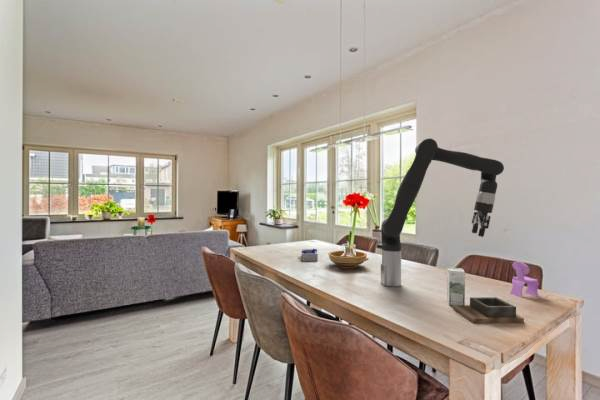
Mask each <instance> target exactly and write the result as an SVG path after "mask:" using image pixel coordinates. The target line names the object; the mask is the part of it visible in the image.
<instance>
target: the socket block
mask: <svg viewBox="0 0 600 400" xmlns="http://www.w3.org/2000/svg"><path fill="white" fill-rule="evenodd" d="M452 307H453V308H452V309H453V311H455V312H456V313H458V314H460V315H461V316H462V317H463V318H465V319H466V320H468V321H470V322H471V323H472V324H511V323H512V324H517V323H520V324H523V323H525V318H524V317H522V316H520V315H519V314H517V306H515V305H513V304H511V303H509V302H507V301H505V300H503V299H501V298H498V297H495V296H491V297H489V296H488V297H484V296H483V297H482V296H481V297H469V305H453V306H452Z"/></svg>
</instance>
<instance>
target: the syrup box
mask: <svg viewBox="0 0 600 400" xmlns="http://www.w3.org/2000/svg"><path fill="white" fill-rule="evenodd" d="M446 272H447V279H446V280H447V285H446V286H447V291H446V292H447V294H446V295H447V296H446V297H447V299H446V301H447V303H448V306H452V307H453V305H465V304H466V303H465V300H466V297H465V296H466V295H465V294H466V292H465V291H466V272H465V270H464V269H463V267H462V268H461V267H447V271H446Z"/></svg>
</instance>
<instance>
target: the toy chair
mask: <svg viewBox="0 0 600 400" xmlns="http://www.w3.org/2000/svg"><path fill="white" fill-rule="evenodd" d="M512 268H513V269H514V271H516V276H512V280H511V282H512V283H511V284H512V287H511V290H510V292H509V294H511V295H514V296H515V297H519V298H523V288H524V286H526V285H527V287H526V290H525V291H524V293H525V294H528V295H532V296H535V297H539V293H538V287H539V280H538V279H536V278H532V277H529V276H526V275H528V274H529V273H530V270H531V269H530V267H529V266H528V265H527V264H526V263H525V262H521V261H517V260H516V261H514V262H513V263H512ZM525 284H526V285H525Z"/></svg>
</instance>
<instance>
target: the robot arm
mask: <svg viewBox="0 0 600 400" xmlns="http://www.w3.org/2000/svg"><path fill="white" fill-rule="evenodd" d="M414 152H415V157H414V159H413V162H412V164H411V165H410V167H409V168H408V169H407V171H406V173H405V174H404V177H403V178H402V180H401V183H400V184H399V186H398V189H397V192H396V195H395V199H394V205H393V208H392V210H391V212H390V214H389V216H388V218H385V219H384V220H383V221H382V223H381V227H380V228H381V229H380V230H381V232H380V234H381V253H382V254H381V263H380V283H381V285H383V286H384V287H400V286H402V243H401V233H402V231H403V229H404V227H405V222H406V220H407V219H406V218H407V216H408V215H409V214H408V213H409V211H410V209H412V206H413V204H414V203H415V200H416V198H417V197H418V194H419V192H420V189H421V187H422V185H423V181H424V179H425V176H426V174H427V170H428V169H429V166H430V164H431V162H432V161H436V162H441V163H445V164H449V165H454V166H456V167H460V168H463V169H467V170H471V171H478V172H480V186H479V188H478V192H477V196H476V198H475V199H476V200H475V204H474V208H473V210H474V212H473V216H472V220H471V224H472V227H471V228H472V229H471V233H473V234H477V233H478V234H477V236H479V237H481V238H483V237H484V236H485V232H486V230H487V229H489V227H490V222H491V215H488V214H492V213H493V209H494V204H495V200H496V193H497V188H498V183H497V176H499V175H501V174H502V173H503V172H504V170H505V166H504V164H503V163H502V162H501V161H499V160H496V159H492V158H486V157H482V156H478V155H475V154H471V153H469V152H462V151H456V150H449V149H446V148H445V149H444V148H441V147H439V145H438V143H437V141H436V140H435V139H433V138H424V139H422V140H421V141H419V142H418V143H417V145H416V146H415V148H414ZM478 229H479V230H478Z"/></svg>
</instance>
